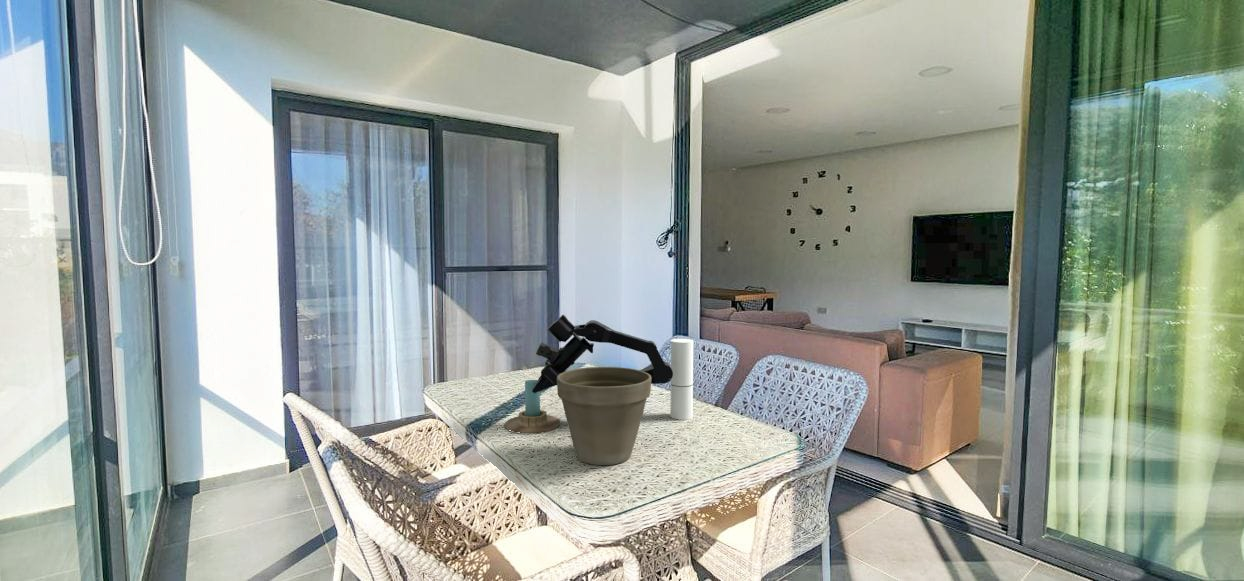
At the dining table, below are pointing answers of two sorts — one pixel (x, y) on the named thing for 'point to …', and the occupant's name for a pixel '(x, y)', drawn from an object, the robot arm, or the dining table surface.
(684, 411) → the cylindrical container
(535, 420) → the walnut stand
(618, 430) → the plant pot
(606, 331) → the robot arm
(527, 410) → the teal peg
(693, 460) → the dining table surface
